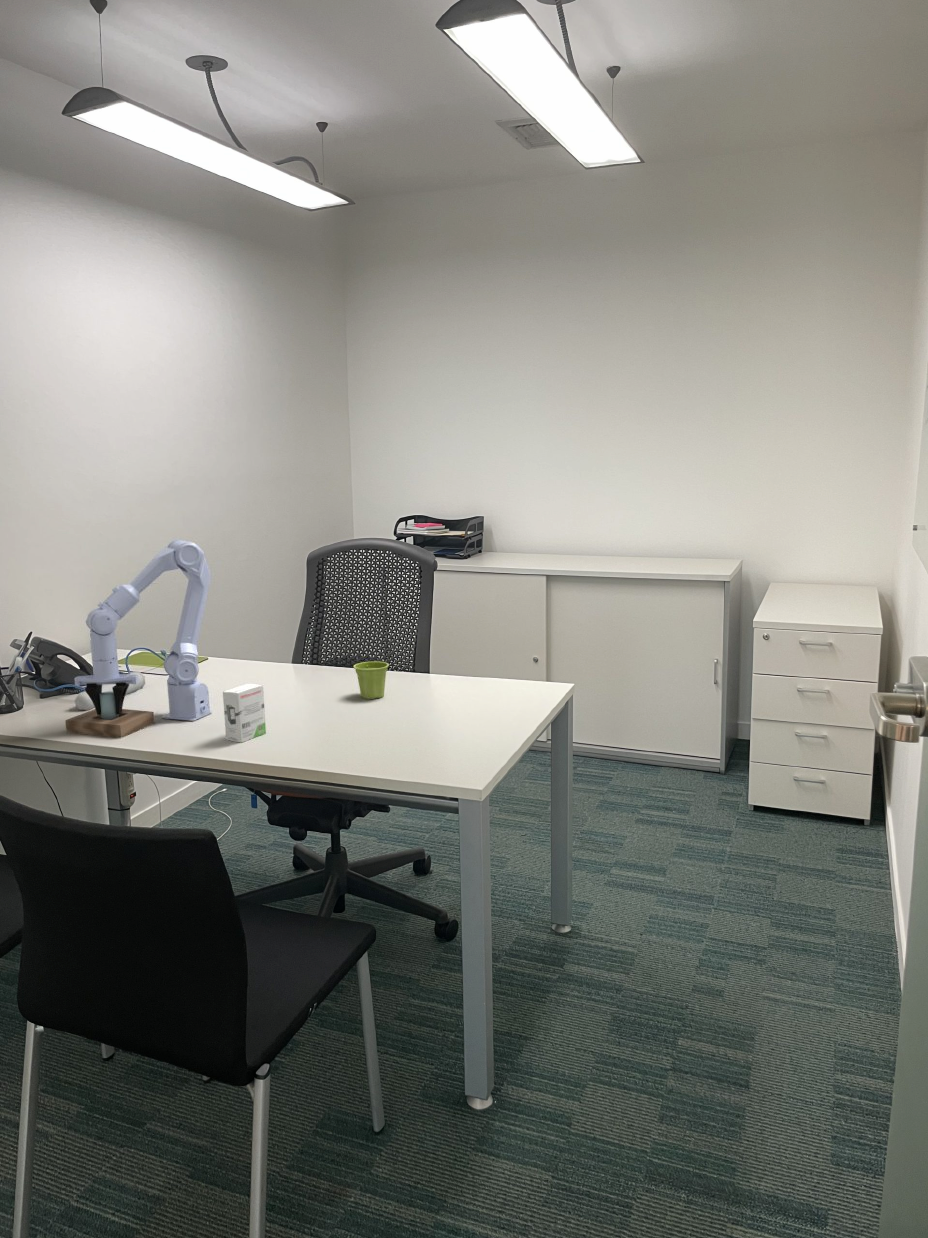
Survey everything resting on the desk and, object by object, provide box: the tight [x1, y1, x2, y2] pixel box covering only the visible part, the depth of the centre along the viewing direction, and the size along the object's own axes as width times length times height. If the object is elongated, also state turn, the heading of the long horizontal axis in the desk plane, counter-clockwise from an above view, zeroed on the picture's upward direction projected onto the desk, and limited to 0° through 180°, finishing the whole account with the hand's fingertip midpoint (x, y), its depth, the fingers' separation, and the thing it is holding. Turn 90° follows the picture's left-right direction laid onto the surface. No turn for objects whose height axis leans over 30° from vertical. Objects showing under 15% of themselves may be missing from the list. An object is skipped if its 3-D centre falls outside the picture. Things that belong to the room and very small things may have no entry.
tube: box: [74, 670, 146, 711], centre depth 250 cm, size 5×5×25 cm
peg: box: [99, 691, 119, 720], centre depth 223 cm, size 4×4×7 cm
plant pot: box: [353, 661, 389, 700], centre depth 247 cm, size 9×9×9 cm
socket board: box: [65, 708, 155, 738], centre depth 223 cm, size 16×12×3 cm
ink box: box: [222, 683, 267, 744], centre depth 213 cm, size 9×5×12 cm, turn 149°
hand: (109, 713), depth 223 cm, fingers closed on peg, 4 cm apart
